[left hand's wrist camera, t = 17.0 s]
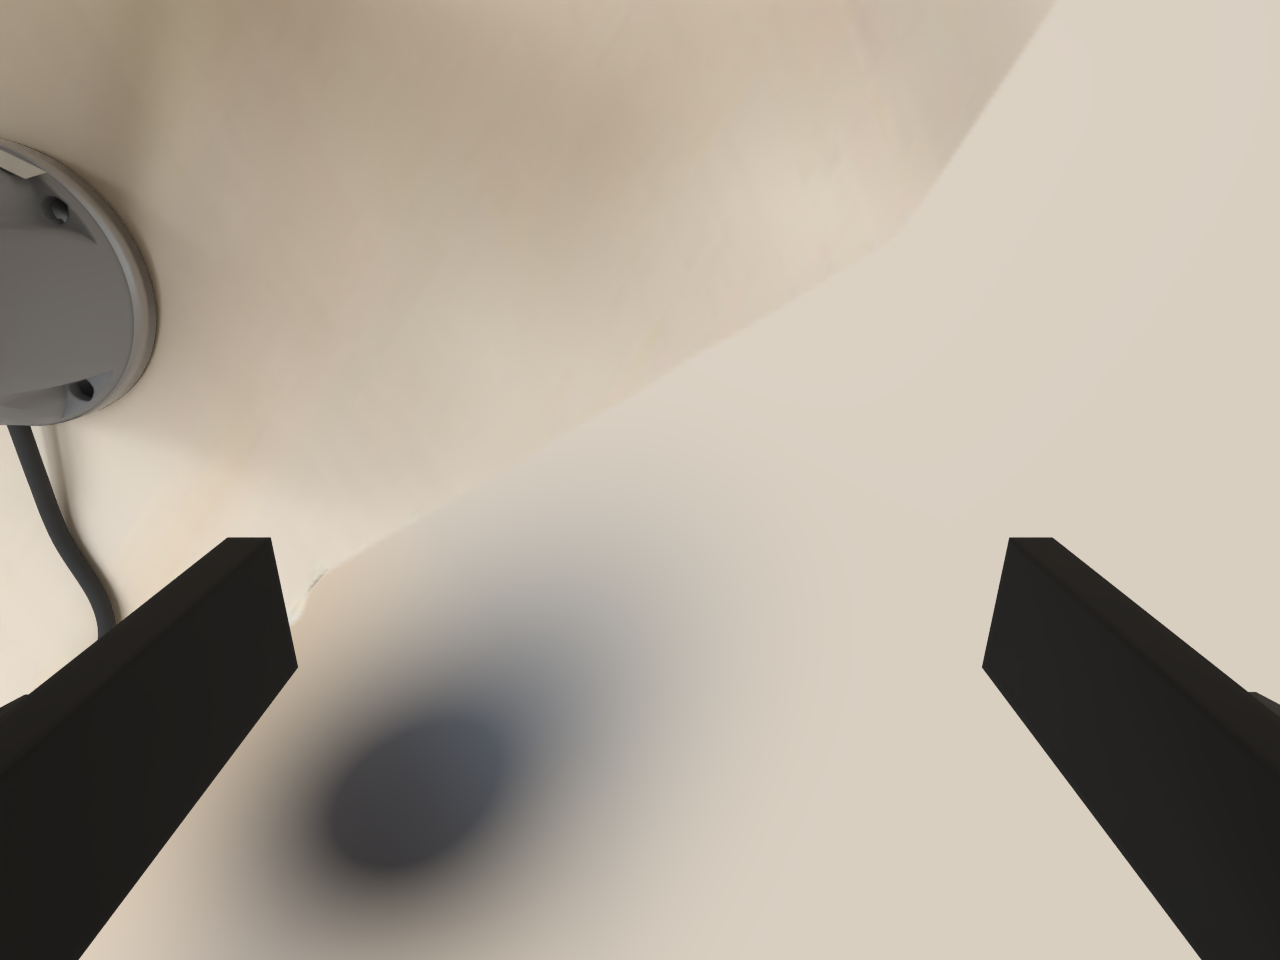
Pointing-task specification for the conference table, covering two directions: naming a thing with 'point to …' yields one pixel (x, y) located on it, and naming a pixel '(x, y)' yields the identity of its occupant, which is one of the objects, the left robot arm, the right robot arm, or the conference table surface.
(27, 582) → the conference table surface
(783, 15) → the conference table surface
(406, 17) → the conference table surface
